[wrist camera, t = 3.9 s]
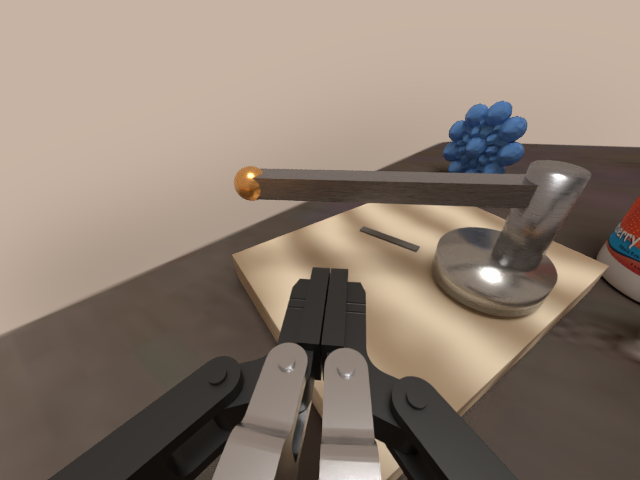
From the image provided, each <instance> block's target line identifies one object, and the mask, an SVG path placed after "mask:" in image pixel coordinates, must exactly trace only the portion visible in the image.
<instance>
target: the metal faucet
mask: <svg viewBox="0 0 640 480" xmlns="http://www.w3.org/2000/svg"><path fill="white" fill-rule="evenodd" d="M590 177H591V173H590V172H589V171H588V170H586V169H584V168H582V167H580V166H577V165H574V164H570V163H566V162H561V161H553V160H539V161H534V162H532V163H531V164H530V166H529V168H528V170H527V173H526V174H485V173H438V172H391V171H345V170H343V171H342V170H297V169H295V170H293V169H259V168H257V167H253V166H248V167H244V168H242V169H241V170H239V171H238V173H237V174H236V176H235V179H234V186H235V190H236V192H237V193H238V194H239V195H240V196H241V197H242V198H244V199H246V200H250V201H251V200H252V201H254V200H258V199H265V200H294V201H323V202H352V203H381V204H410V205H439V206H468V207H497V208H511V209H510V212H509V214H508V216H507V219H506V221H505V223H504V225H503V228H502V230H501V231H498V230H494V229H488V228H480V227H466V228H459V229H455V230H452V231H449V232H447V233H446V234H444V235H443V236H442V237H441V238H440V240H439V242H438V245H437V248H436V252H435V255H434V259H433V263H432V271H433V275H434V277H435V279H436V281H437V282H438V284H439V285H440V286H441V287H442V288H443V289H444V291H445V292H447V293H448V294H449V295H450V296H451V297H453V298H454V299H456V300H457V301H459V302H461V303H462V304H464V305H466V306H468V307H470V308H472V309H475V310H478V311H480V312H484V313H487V314H491V315H496V316H504V317H517V316H524V315H528V314H530V313H533V312H534V311H536V310H538V309H539V308H540V307H541V305H542V304H543V302H544V301H545V299H546V298H547V296H548V295H549V293H550V292H551V290H552V289H553V287H554V286H555V284H556V283H557V279H558V275H557V270H556V268H555V266H554V264H553V263H552V261H551V260H550V259H549V258H548V257H547V255H545V254H546V252H547V250H548V249H549V247H550V245H551V243H552V242H553V240H554V238H555V237H556V235H557V233H558V232H559V230H560V228H561V226H562V225H563V223H564V221H565V220H566V218H567V216H568V215H569V213H570V211H571V209H572V208H573V206H574V204H575V203H576V201H577V199H578V197H579V196H580V194H581V192H582V191H583V189H584V187H585V186H586V184H587V182H588V180H589V179H590Z"/></svg>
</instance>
